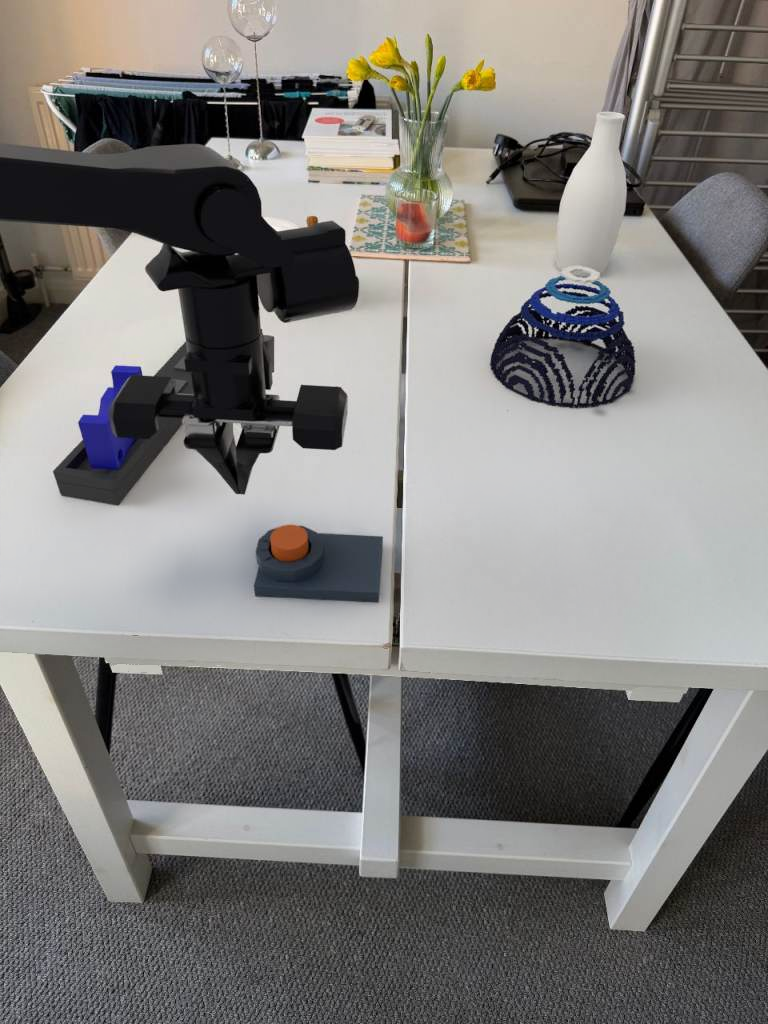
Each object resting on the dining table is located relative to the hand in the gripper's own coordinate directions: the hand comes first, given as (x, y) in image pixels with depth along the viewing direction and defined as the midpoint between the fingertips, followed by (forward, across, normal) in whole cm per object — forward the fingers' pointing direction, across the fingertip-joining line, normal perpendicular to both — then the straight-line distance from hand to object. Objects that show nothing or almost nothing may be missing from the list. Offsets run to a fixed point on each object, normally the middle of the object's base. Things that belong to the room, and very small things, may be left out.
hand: (241, 491), depth 66 cm
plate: (+10, +17, -87) cm, 90 cm away
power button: (+8, -4, -1) cm, 9 cm away
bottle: (+10, -45, -83) cm, 95 cm away
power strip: (+11, +17, -30) cm, 36 cm away
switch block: (+11, -7, -1) cm, 13 cm away
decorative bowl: (+10, -37, -45) cm, 59 cm away
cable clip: (+8, +19, -18) cm, 27 cm away
